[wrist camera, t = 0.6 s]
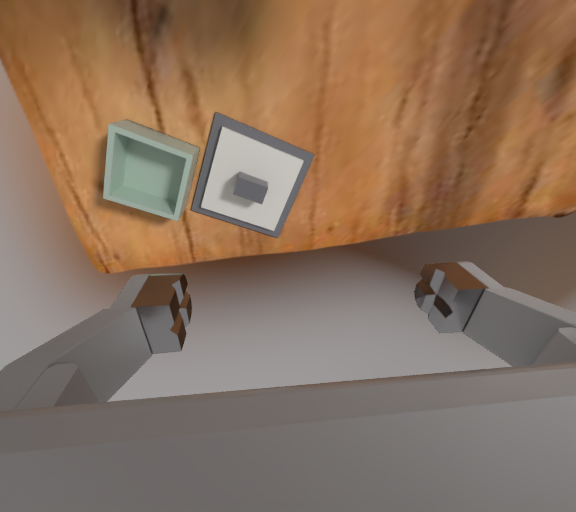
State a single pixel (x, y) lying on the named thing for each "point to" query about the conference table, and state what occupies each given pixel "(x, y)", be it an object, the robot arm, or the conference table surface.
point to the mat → (263, 138)
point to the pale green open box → (148, 169)
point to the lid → (250, 180)
